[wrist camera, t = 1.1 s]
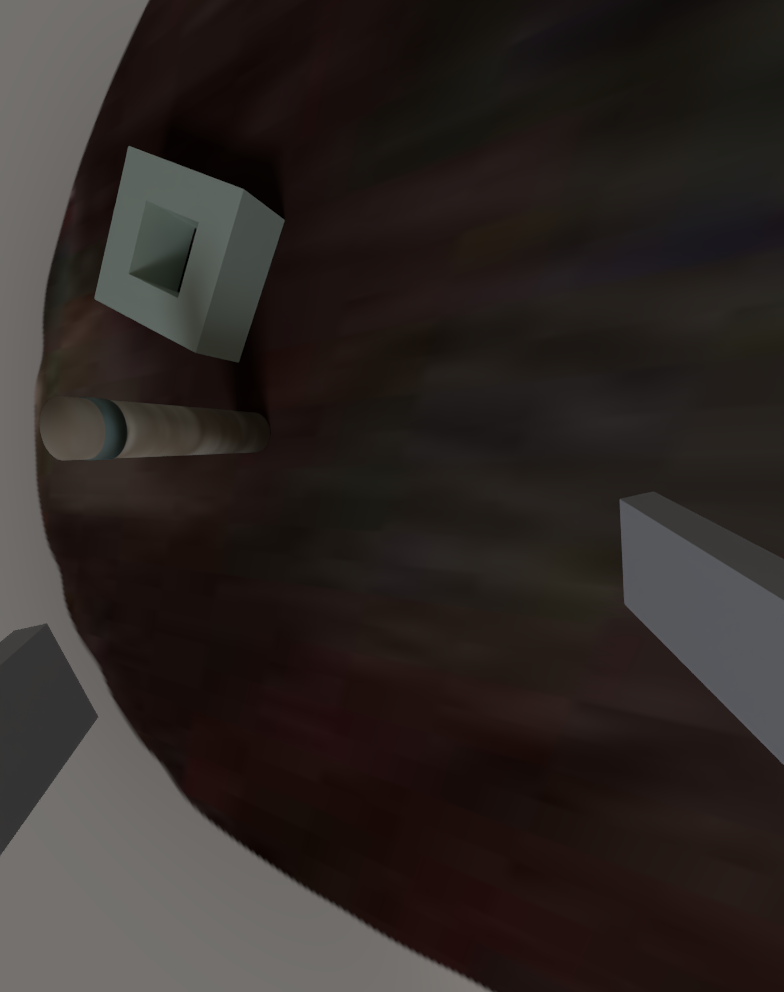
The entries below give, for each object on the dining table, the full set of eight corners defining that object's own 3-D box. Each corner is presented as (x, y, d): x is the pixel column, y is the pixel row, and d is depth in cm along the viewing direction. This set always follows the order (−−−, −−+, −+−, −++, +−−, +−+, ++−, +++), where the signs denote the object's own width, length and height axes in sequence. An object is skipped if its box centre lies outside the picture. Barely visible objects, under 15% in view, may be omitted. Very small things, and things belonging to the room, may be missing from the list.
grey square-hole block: (179, 179, 37) (128, 146, 32) (284, 220, 34) (244, 189, 29) (144, 313, 40) (94, 298, 35) (238, 362, 36) (195, 352, 32)
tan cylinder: (245, 405, 37) (46, 384, 23) (276, 422, 36) (89, 412, 22) (232, 441, 38) (34, 443, 24) (262, 459, 37) (74, 472, 23)
